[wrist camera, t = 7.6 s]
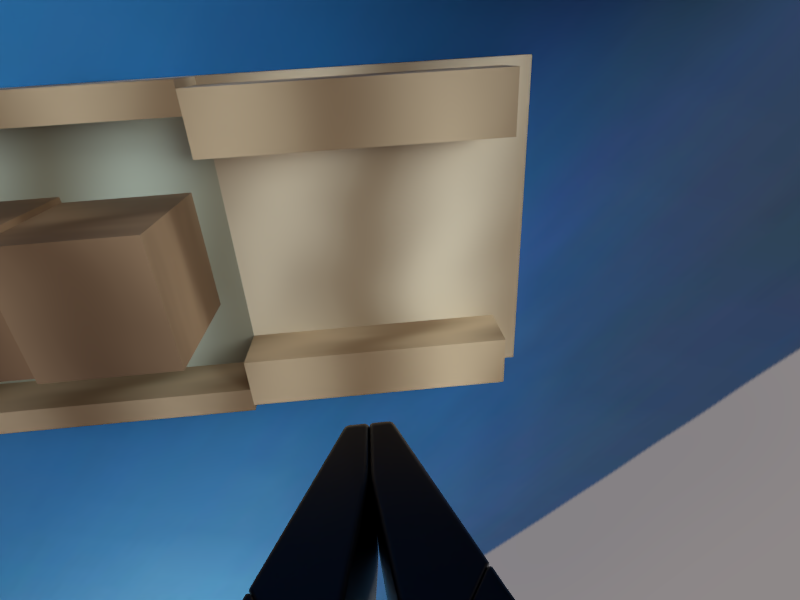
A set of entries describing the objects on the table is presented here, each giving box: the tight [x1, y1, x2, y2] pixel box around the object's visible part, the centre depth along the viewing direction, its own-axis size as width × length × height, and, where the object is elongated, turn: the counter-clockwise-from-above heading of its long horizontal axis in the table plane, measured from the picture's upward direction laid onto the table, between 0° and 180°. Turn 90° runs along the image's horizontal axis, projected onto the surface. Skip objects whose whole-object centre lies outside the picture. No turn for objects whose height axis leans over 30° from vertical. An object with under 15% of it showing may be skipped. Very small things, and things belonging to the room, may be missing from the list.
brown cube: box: [0, 193, 221, 384], centre depth 16 cm, size 4×4×4 cm
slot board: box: [0, 54, 532, 434], centre depth 18 cm, size 23×12×3 cm, turn 93°
